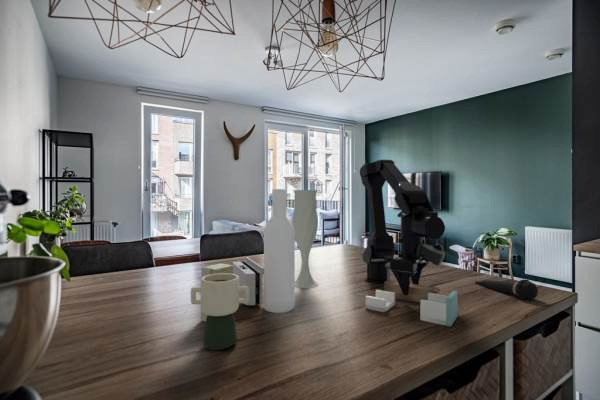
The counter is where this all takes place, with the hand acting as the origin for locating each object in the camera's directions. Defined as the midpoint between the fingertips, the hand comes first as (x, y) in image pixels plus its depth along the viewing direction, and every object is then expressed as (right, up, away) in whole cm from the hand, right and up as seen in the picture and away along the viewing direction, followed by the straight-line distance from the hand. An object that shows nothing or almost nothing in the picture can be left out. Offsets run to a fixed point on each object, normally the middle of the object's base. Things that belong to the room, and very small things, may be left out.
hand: (411, 291), depth 93 cm
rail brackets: (-5, -2, -10) cm, 11 cm away
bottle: (-36, -2, -8) cm, 37 cm away
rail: (0, -2, 0) cm, 2 cm away
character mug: (-46, -3, -29) cm, 54 cm away
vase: (-29, -2, +14) cm, 32 cm away
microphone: (+30, -3, +7) cm, 31 cm away
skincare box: (-50, -2, -15) cm, 52 cm away
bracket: (-45, -2, -1) cm, 45 cm away
